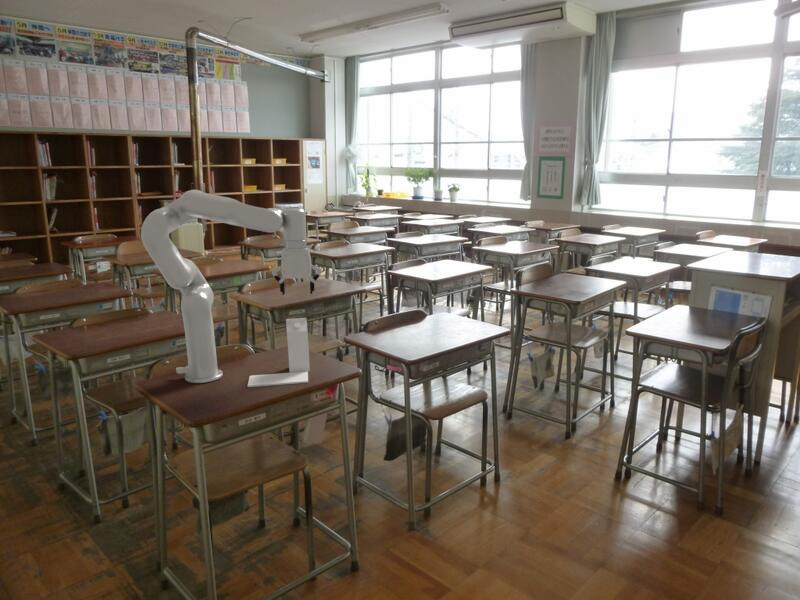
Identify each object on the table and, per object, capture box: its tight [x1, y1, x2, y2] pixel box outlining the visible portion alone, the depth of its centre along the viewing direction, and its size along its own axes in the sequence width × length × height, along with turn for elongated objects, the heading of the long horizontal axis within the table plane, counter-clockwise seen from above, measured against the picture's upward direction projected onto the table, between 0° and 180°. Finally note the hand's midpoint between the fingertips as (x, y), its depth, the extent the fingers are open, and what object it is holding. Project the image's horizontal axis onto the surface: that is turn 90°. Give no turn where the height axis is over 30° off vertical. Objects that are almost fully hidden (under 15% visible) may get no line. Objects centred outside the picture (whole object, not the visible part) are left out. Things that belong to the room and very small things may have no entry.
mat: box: [246, 371, 309, 388], centre depth 210 cm, size 20×10×1 cm, turn 99°
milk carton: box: [285, 317, 311, 373], centre depth 218 cm, size 7×7×19 cm
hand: (297, 293), depth 214 cm, fingers open, 9 cm apart
